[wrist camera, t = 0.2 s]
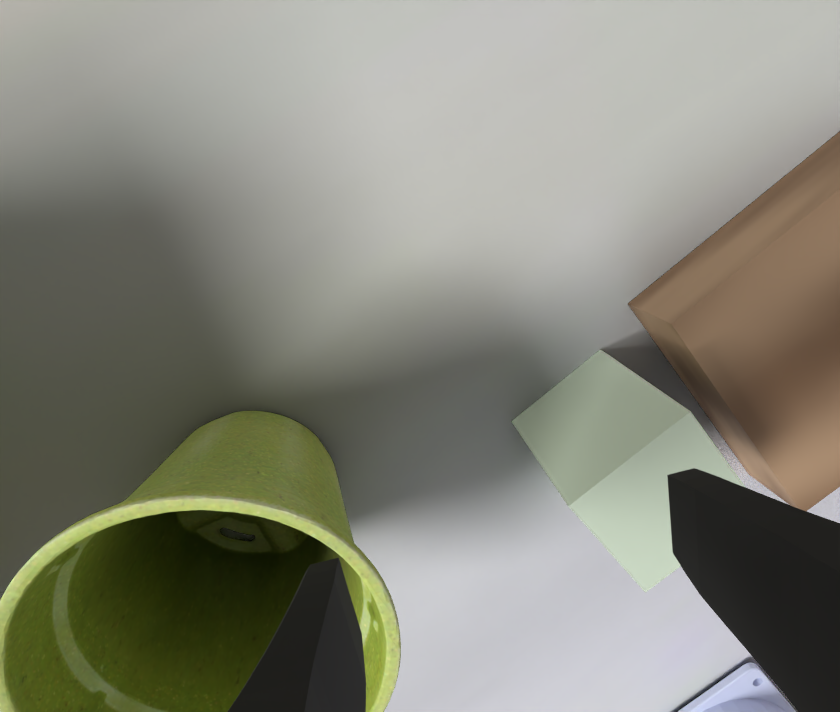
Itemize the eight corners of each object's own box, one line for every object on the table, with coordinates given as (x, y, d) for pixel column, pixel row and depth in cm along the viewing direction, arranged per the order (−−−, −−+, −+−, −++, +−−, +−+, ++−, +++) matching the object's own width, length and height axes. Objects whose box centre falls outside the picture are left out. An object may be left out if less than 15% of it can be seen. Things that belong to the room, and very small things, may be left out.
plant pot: (413, 404, 21) (455, 549, 13) (340, 603, 24) (337, 831, 16) (157, 332, 19) (20, 450, 11) (104, 558, 22) (-41, 791, 14)
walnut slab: (948, 323, 23) (1032, 344, 20) (748, 474, 24) (802, 514, 21) (851, 121, 20) (935, 112, 17) (627, 303, 21) (671, 323, 18)
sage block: (657, 425, 23) (759, 507, 17) (572, 491, 24) (645, 592, 18) (600, 349, 22) (690, 411, 16) (510, 420, 22) (568, 506, 16)
